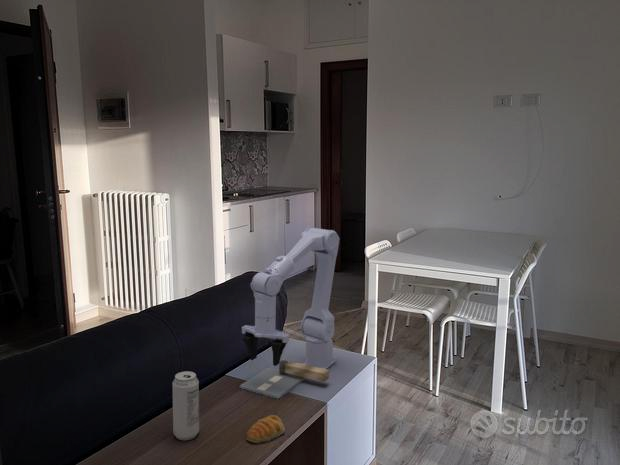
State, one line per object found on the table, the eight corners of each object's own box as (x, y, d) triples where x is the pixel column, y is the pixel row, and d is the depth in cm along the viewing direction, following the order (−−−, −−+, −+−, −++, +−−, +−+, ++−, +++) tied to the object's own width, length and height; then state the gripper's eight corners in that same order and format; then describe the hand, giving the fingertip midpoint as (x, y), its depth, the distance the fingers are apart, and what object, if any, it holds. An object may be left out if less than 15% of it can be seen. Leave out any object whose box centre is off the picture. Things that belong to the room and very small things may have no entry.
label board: (268, 369, 164) (268, 366, 164) (304, 379, 158) (304, 376, 158) (239, 388, 151) (239, 385, 151) (278, 399, 145) (278, 396, 145)
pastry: (258, 449, 121) (258, 434, 121) (239, 438, 126) (239, 423, 125) (287, 433, 128) (287, 419, 128) (267, 424, 133) (268, 409, 132)
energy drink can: (184, 425, 130) (183, 368, 128) (204, 431, 128) (203, 373, 125) (168, 437, 125) (166, 377, 123) (188, 444, 122) (187, 383, 120)
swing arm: (277, 373, 159) (277, 362, 158) (282, 369, 162) (282, 359, 161) (324, 384, 152) (324, 373, 152) (328, 380, 155) (329, 370, 154)
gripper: (235, 314, 147) (235, 361, 149) (280, 324, 140) (279, 372, 143) (250, 308, 153) (249, 352, 155) (293, 316, 147) (292, 363, 149)
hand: (264, 361), depth 149 cm, fingers open, 7 cm apart
